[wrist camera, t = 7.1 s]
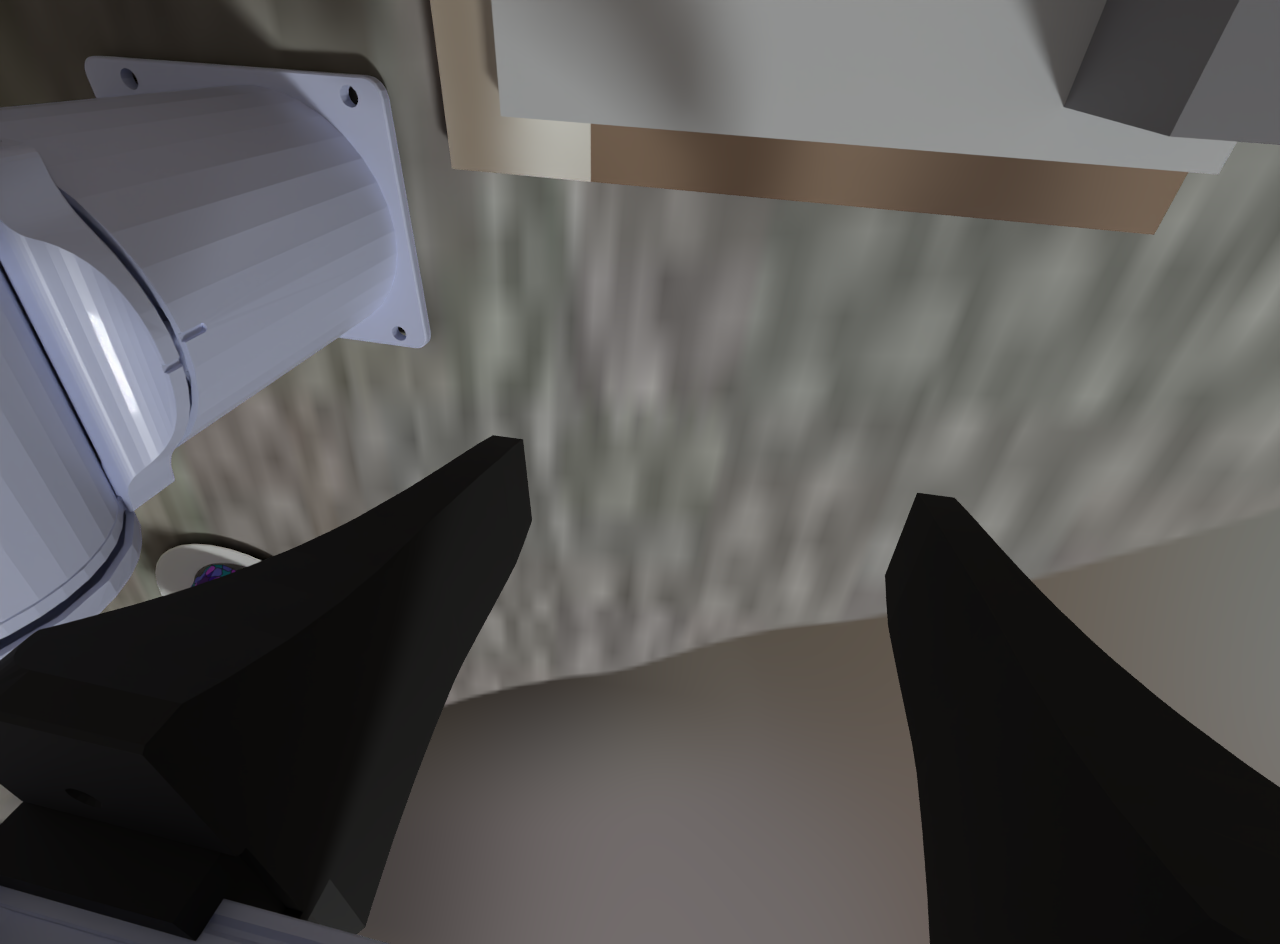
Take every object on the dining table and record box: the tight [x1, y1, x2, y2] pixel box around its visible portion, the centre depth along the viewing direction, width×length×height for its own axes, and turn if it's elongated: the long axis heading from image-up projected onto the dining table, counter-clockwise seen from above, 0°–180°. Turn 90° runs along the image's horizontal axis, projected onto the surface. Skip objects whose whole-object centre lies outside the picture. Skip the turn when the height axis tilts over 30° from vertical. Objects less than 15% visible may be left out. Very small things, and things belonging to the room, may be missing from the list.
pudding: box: [155, 544, 261, 596], centre depth 33 cm, size 12×12×5 cm
